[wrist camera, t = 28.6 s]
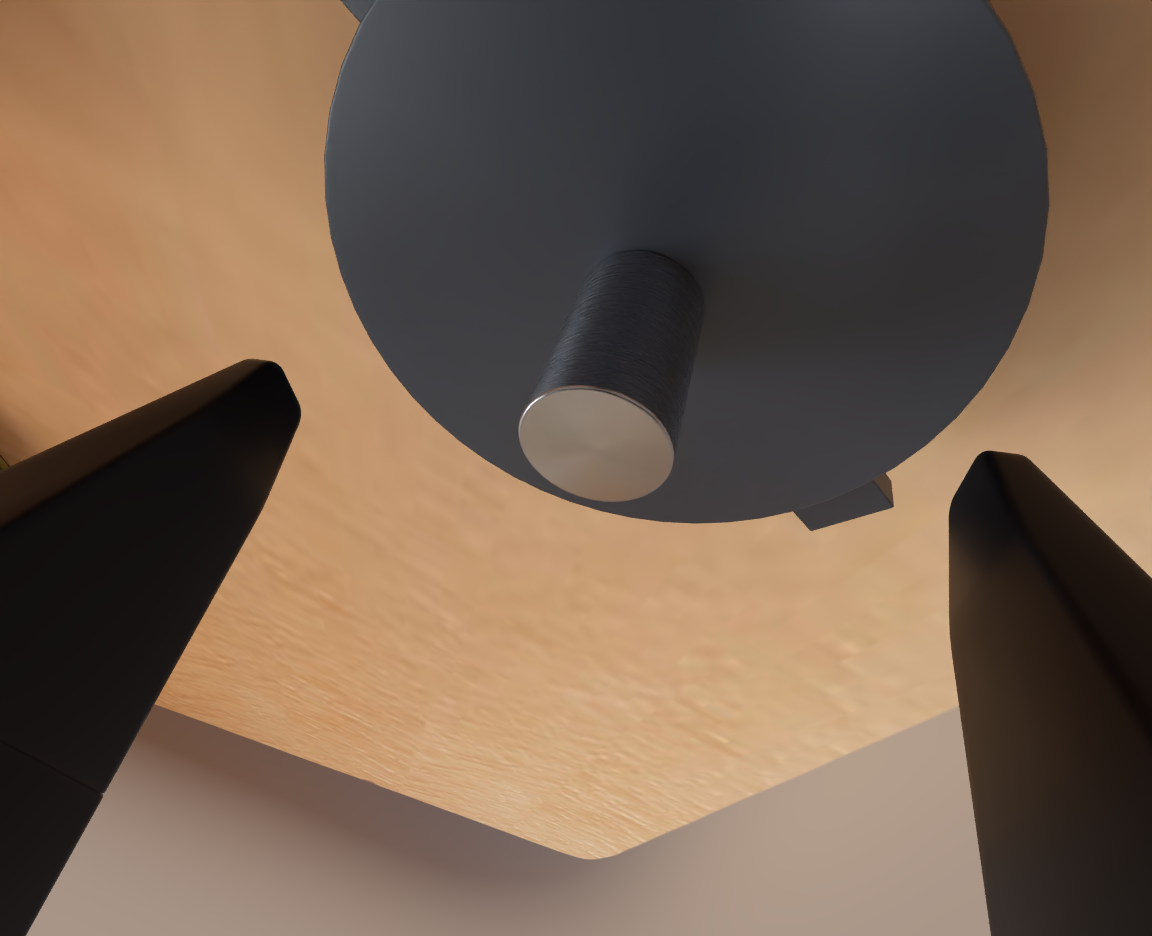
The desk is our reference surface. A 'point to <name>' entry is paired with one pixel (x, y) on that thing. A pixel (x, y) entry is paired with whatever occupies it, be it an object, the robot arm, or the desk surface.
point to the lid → (688, 235)
